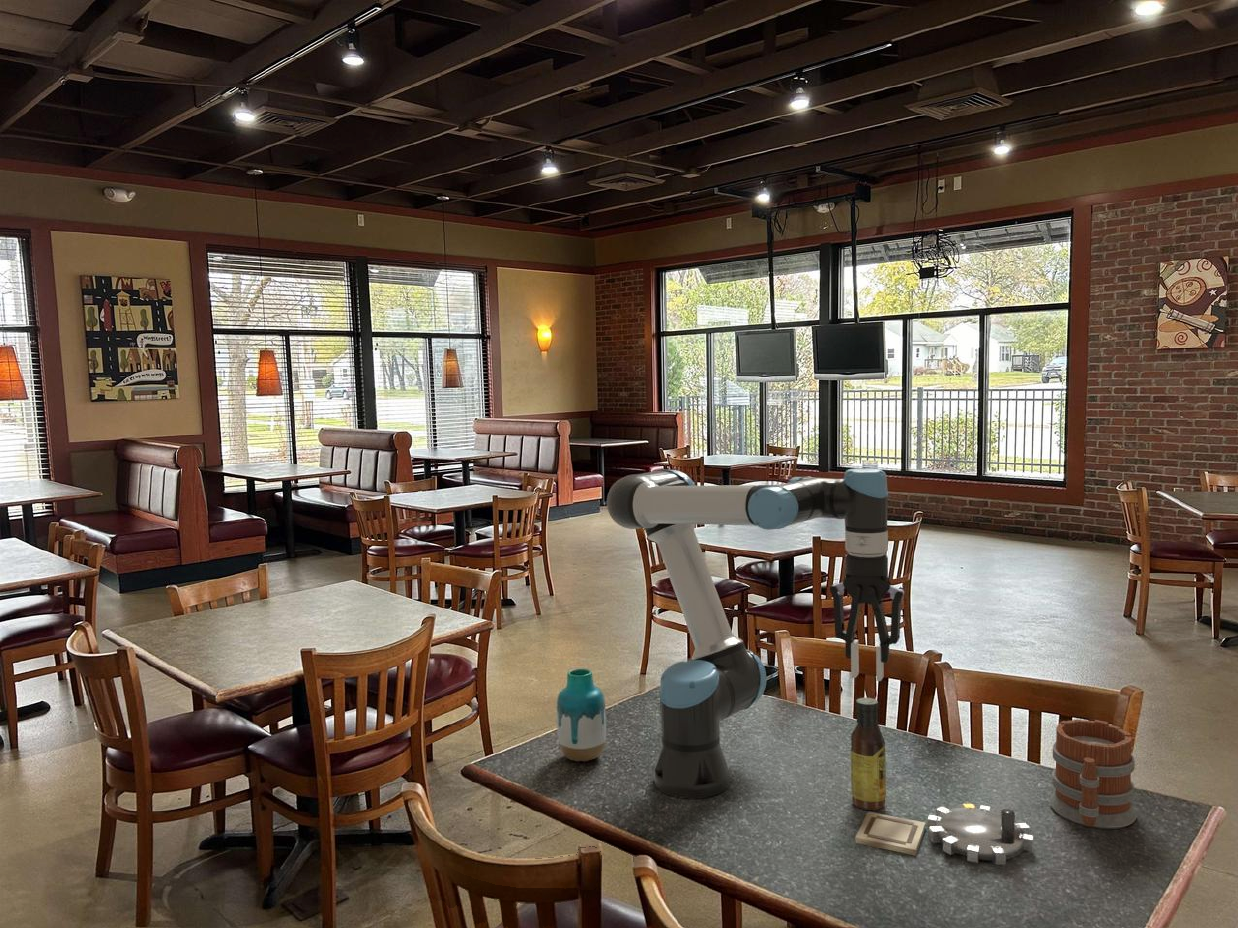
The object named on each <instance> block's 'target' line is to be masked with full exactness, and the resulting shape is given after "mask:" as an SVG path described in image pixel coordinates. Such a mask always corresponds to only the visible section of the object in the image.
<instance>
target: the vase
mask: <svg viewBox="0 0 1238 928" xmlns="http://www.w3.org/2000/svg"><path fill="white" fill-rule="evenodd" d="M566 674H567V675H566V687H564V688H563V689H561V691H559V692H558V696H557V700H556V725H557V726H556V729H557V731H556V732H557V737H558V738H557V739H558V744H559V745H558V746H559V748H560V751H561V753H562V755H563V756H564V757H566V758H567V759H569V760H571V761H573V760H574V762H579V761H583V762H590V761H592V759H593V760H596V759H597V758H598V757H599V756H601V754H602V753H603V752H604V749H605V747H606V743H607V713H606V712H607V711H606V701H605V696H604V693H603V692H602V689H600V688H599V687H597V686H595V684H594V679H593V671H592V670H591V669H588V668H582V667H581V668H579V667H578V668H573V669H571V670H569V671H568V672H567V673H566ZM589 760H590V761H589Z"/></svg>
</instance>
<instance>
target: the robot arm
mask: <svg viewBox="0 0 1238 928" xmlns="http://www.w3.org/2000/svg"><path fill="white" fill-rule="evenodd" d="M843 476H844V477H843V478H829V477H828V478H826V477H816V476H815V477H812V476H809V475H806V476H794V477H791V478H789V480H788V482H787V483H782V484H781V483H779V484H755V485H754V484H751V485H750V484H749V485H747V484H745V485H742V484H739V485H737V484H736V485H735V484H733V485H731V484H729V485H696V484H695V483H694V481H693V480H692V478H690V477H689V476H688V475H687V474H686V473H684V472H682V471H680V470H675V469H659V470H654V471H649V472H643V473H637V474H629V475H626V476H624V477H623V476H622V477H620V478H619V479H618V480H617V481H616V482H614V483H613V484H612V486H611V487H610V489H609V492H608V493H607V497H606V508H607V512H608V513H609V516H610V517H611V519H612V520H613V521H614V522H615V523H616V524H617V525H619V526H621V527H622V528H624V529H627V530H628V529H629V530H639V529H644V532H645V534H646V537H647V539H648V540H650V541H652V542H654V543H656V544H657V547H658V550H659V553H660V556H661V558H662V561H663V563H664V567H665V568H666V571H667V574H668V576H669V577H668V578H669V580H670V583H671V585H672V587H673V591H674V593H675V596H676V598H677V601H678V602H677V603H678V604H679V606H680V609H681V613H682V615H683V618H684V621H685V624H686V627H687V629H688V632H689V634H690V635H689V636H690V638H691V640H692V642H693V645H694V651H693V653H692V656H691V659H690V660H687V661H680V662H676V663H674V664H672V665H670V666H669V667H667V668H666V669H665V670H664V671H663V673H662V674H661V676H660V683H659V692H658V693H659V704H660V705H659V706H660V707H659V708H660V728H661V729H660V730H661V747H660V750H659V753H658V756H657V761H656V764H655V766H654V770H653V780H654V781H653V782H655V783H654V786H655V785H656V786H657V787H656V786H655V787H656V788H657V789H658V790H659V791H660V792H662V793H664V794H665V793H666V794H665V795H668V796H671V797H674V796H677V797H676V798H679V797H683V798H682V799H688V798H691V800H693V799H696V800H697V799H705V798H711V797H714V796H717V795H719V794H721V793H722V792H723V793H724V791H725V790H727V789H728V787H729V786H730V769H729V766H728V763H727V761H726V758H725V755H724V752H723V749H722V747H721V742H720V741H721V740H720V739H721V738H720V734H721V733H720V722H721V721H723V720H726V719H728V718H729V717H731V716H733V715H736V714H737V713H739V712H742V711H745V710H747V709H749V708H750V707H751V706H753V704H755V703H757V702H758V701H759V700H760V699H761V697H762V696H763V695H764V692H765V690H766V686H767V672H766V667H765V666H764V663H763V661H762V660H761V658H760V657H759V656H758V655H756V654H755V653H754V652H753V651H752V650H750V649H747V648H746V646H745V643H744V640H743V639H742V638H740V637H738V636H735V635H734V633H733V631H732V629H731V626H730V623H729V620H728V618H727V614H726V613H725V610H724V608H723V605H722V602H721V599H720V597H719V593H718V591H717V589H716V587H715V583H714V580H713V578H712V575H711V573H710V570H709V567H708V564H707V562H706V559H705V557H704V554H703V551H702V548H701V545H700V543H699V541H698V538H697V535H696V532H695V528H696V525H713V526H715V525H716V526H717V525H723V526H755V527H759V528H760V529H763V530H780V529H785V528H787V527H789V526H791V525H795V524H796V525H797V524H798V523H803V522H807V521H810V520H814V519H818V518H823V519H836V520H844V529H845V530H844V532H845V533H844V535H845V536H844V539H845V542H844V543H845V545H844V547H845V551H846V552H847V553H846V554H845V556H844V557H845V576H844V579H843V581H842V582H839V583H833V584H832V585H831V586H829V593H830V594H831V597H832V600H833V617H834V619H833V621H834V622H833V623H834V635H835V637H836V638H837V639H842V640H843V641H844V643H845V657H846V659H850V665H851V666H850V668H851V669H850V670H851V671H850V673H851V674H850V677H851V678H853V679H856V678H857V677H858V675H859V674H860V667H859V665H860V663H859V662H860V661H859V660H860V659H859V650H860V649H859V648H860V647H859V639H854V638H855V637H856V630H857V625H858V620H859V615H860V610H861V606H862V604H868V605H871V608H872V610H873V615H874V620H875V623H876V629H877V634H878V639H879V642H878V643H877V644H876V646H875V649H876V652H875V660H876V663H875V665H876V666H875V667H876V671H875V672H876V673H875V675H876V678H875V679H876V680H875V681H876V682H881V681H882V680H883V679H884V675H885V674H884V673H885V672H884V669H885V668H884V664H886V663H888V662H889V659H890V645H895V644H897V643H898V642H899V640H900V637H901V615H902V613H901V612H902V600H903V599H904V596H905V593H906V589H904V588H902V587H901V588H897V587H896V586H894V585H892V583H891V581H890V579H889V556H888V554H887V552H888V550H889V533H888V532H889V531H888V497H889V492H888V481H887V474H886V472H885V471H883V470H882V469H879V468H870V467H867V468H863V467H861V468H860V467H859V468H858V467H857V468H850V469H847V470H846V471H845V472H844V475H843ZM845 590H846V591H847V593H848V594H849V596H850V597H851V598H852V599H851V602H850V603H851V604H850V610H849V617H848V621H847V626H846V627H845V612H844V595H843V594H844V593H845ZM888 592H889V595H890V597H889V598H890V599H891V600H892V602H891V614H890V615H891V617H890V620H891V621H890V635H889V630H888V626H887V621H886V616H885V611H884V601H883V598H884V597H885V595H886V594H887V593H888ZM845 628H846V629H845Z"/></svg>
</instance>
